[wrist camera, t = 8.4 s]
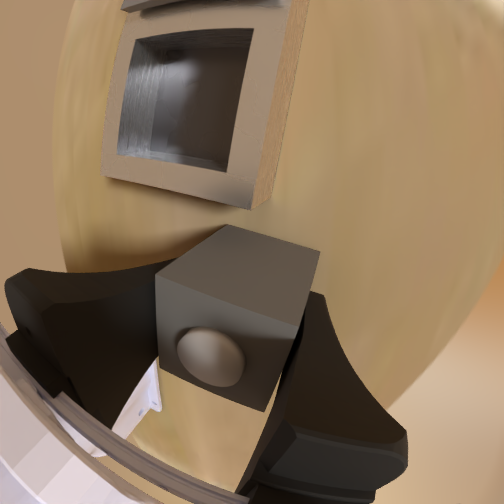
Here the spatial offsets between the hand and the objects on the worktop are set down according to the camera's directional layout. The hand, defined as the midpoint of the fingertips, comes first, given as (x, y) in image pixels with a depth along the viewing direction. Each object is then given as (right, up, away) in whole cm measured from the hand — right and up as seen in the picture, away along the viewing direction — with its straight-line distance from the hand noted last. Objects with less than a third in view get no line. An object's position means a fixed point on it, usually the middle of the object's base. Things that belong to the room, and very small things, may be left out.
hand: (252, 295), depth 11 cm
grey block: (0, +1, +1) cm, 1 cm away
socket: (-1, +11, -2) cm, 12 cm away
